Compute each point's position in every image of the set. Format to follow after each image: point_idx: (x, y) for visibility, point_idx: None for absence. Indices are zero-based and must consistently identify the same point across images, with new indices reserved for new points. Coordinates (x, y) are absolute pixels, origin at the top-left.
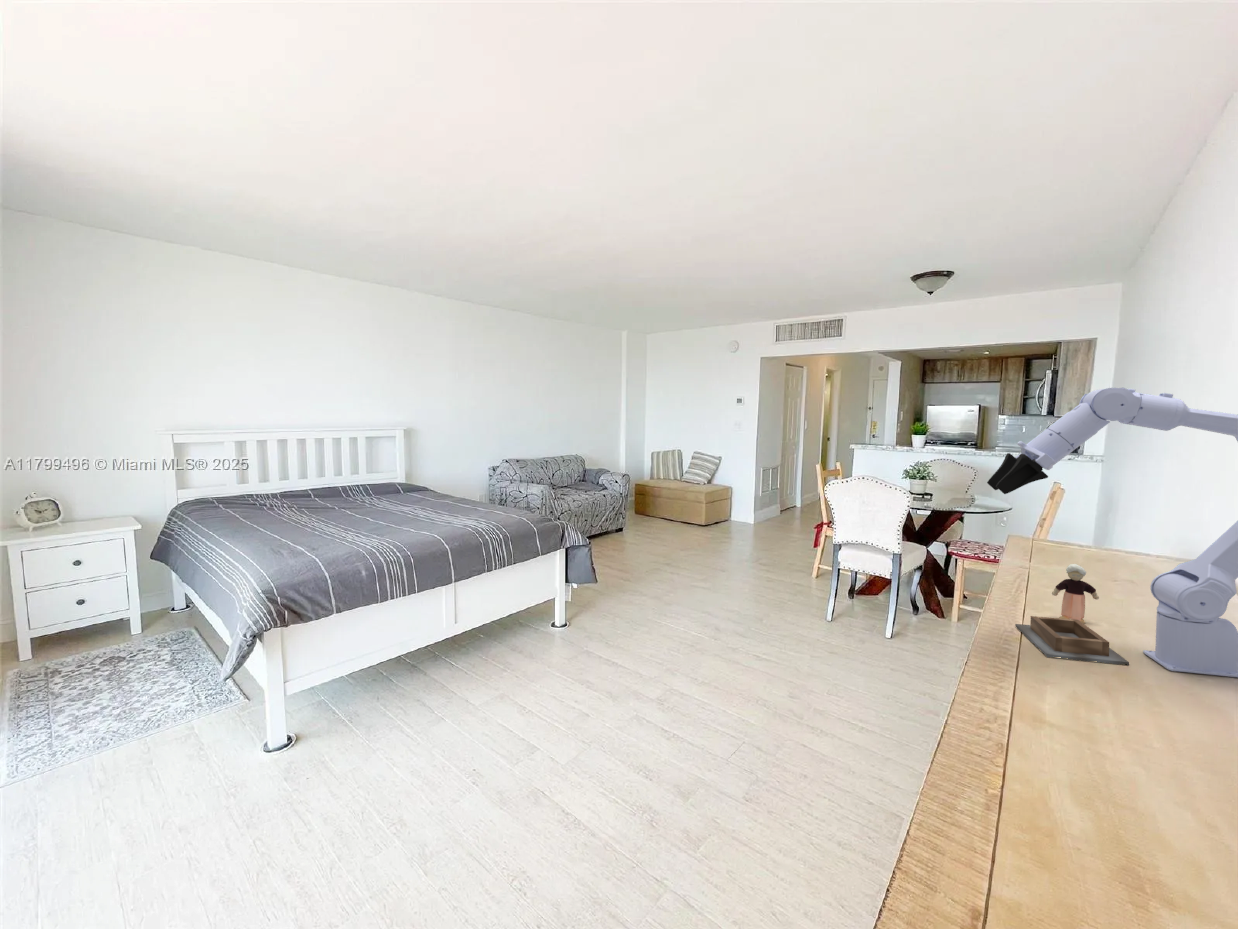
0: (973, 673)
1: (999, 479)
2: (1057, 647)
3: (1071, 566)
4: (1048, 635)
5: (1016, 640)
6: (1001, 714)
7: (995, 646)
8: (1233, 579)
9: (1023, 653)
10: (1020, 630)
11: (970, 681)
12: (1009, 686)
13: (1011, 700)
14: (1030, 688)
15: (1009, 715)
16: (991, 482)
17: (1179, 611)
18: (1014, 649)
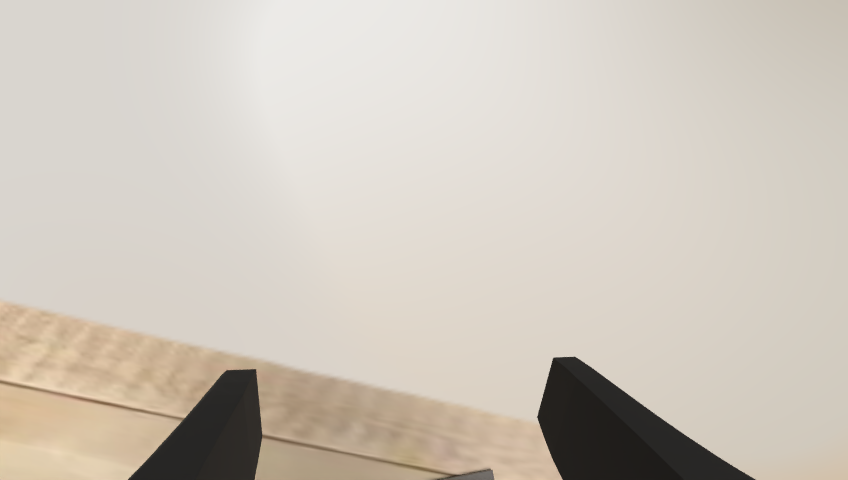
0: (189, 348)
1: (589, 451)
2: None
3: None
4: None
5: (400, 456)
6: (12, 368)
7: (347, 408)
8: None
9: (324, 458)
10: (461, 475)
11: (149, 338)
12: (139, 401)
13: (75, 394)
14: (138, 438)
15: (9, 381)
16: (559, 385)
17: None
18: (342, 443)
